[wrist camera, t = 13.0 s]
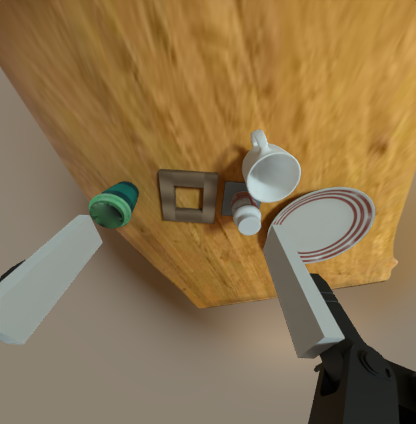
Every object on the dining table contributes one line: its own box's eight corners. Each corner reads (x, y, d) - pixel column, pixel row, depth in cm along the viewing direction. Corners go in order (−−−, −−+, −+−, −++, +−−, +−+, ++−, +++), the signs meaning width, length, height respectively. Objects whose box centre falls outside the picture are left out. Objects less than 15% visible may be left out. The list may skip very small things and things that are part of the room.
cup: (110, 176, 40) (76, 199, 30) (142, 174, 39) (117, 197, 29) (122, 204, 44) (95, 232, 34) (150, 202, 44) (131, 231, 34)
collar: (160, 168, 38) (158, 171, 37) (218, 172, 38) (218, 175, 37) (165, 216, 46) (163, 220, 44) (213, 219, 46) (213, 223, 45)
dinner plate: (383, 221, 45) (395, 229, 42) (298, 267, 57) (302, 276, 54) (333, 158, 36) (343, 162, 33) (245, 229, 48) (247, 236, 45)
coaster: (225, 181, 40) (225, 181, 39) (265, 184, 40) (265, 184, 39) (221, 214, 45) (221, 215, 45) (256, 216, 45) (256, 217, 45)
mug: (280, 169, 38) (304, 192, 28) (244, 183, 40) (254, 209, 30) (269, 117, 32) (295, 121, 22) (228, 136, 34) (234, 149, 24)
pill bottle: (254, 208, 43) (265, 235, 34) (232, 212, 44) (236, 240, 35) (252, 188, 40) (264, 212, 31) (228, 192, 41) (232, 217, 32)
